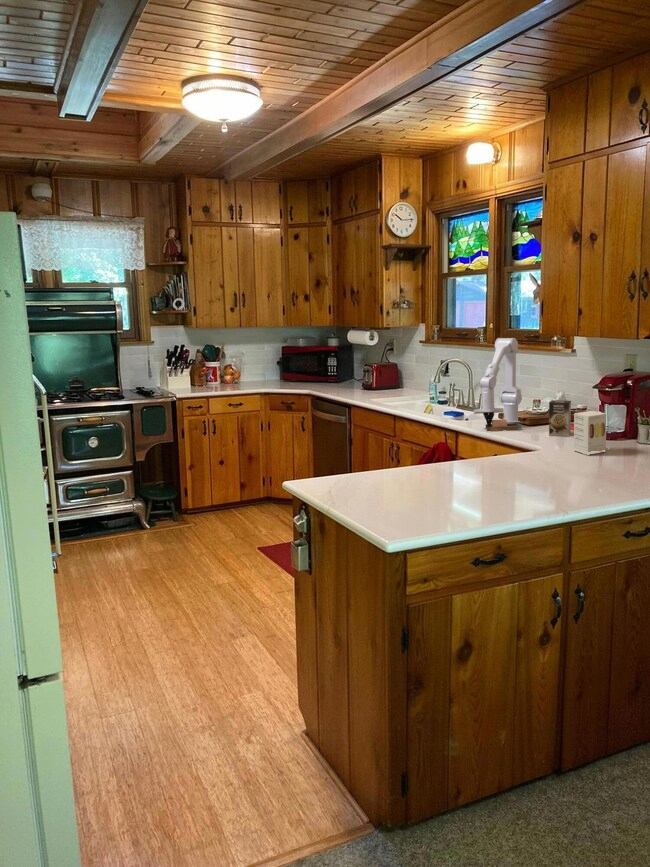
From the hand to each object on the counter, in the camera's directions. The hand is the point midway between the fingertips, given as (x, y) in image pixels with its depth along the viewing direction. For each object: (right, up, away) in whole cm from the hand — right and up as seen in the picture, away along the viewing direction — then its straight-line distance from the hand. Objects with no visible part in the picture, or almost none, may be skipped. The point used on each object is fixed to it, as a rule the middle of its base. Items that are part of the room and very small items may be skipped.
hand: (489, 427), depth 351 cm
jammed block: (+5, -1, -1) cm, 5 cm away
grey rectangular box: (+28, -4, -22) cm, 36 cm away
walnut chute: (+7, -1, -1) cm, 7 cm away
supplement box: (+30, -11, -55) cm, 64 cm away
